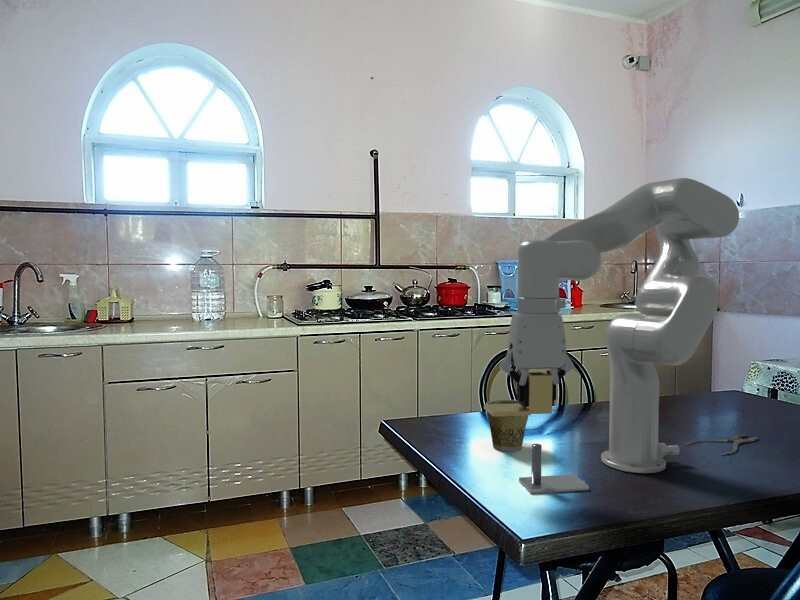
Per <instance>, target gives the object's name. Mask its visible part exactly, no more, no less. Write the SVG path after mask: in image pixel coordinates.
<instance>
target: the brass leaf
mask: <svg viewBox="0 0 800 600" xmlns="http://www.w3.org/2000/svg"><path fill="white" fill-rule="evenodd" d="M552 383H553V376H552V375H550V374H548V373H546V371H528V375H527V379H526V385H527V386H528V406H527V407H523V406H522V405H520V404H519V403H513V404H486V403H484V404H483V410H485V411H486V413H487V412H488V413H490V414H491V415H492V416H493V417H498V416H527V415H528V416H531V415H545V414H546V415H548V414H553V406H552Z"/></svg>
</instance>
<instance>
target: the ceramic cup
mask: <svg viewBox="0 0 800 600" xmlns="http://www.w3.org/2000/svg"><path fill="white" fill-rule="evenodd" d="M513 403H519V402H518V401H517V399H516V400H515V399H493V400H490V401H488V402H486V403H485V404H513ZM486 416H487V420H488V423H489V431H490V435H491V442H492V446H493V447H492V448H493V449H494V448H495V450H498V451H501V452H505V451H506V452H508V453H514V452H518V451H521V450H522V449H523V443H524V437H525V433H526V426H527V425H528V419H529V415H527V416H498V417H493V416H492V415H491V414H490V413H488V412H487V411H486Z"/></svg>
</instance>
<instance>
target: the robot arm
mask: <svg viewBox="0 0 800 600" xmlns="http://www.w3.org/2000/svg"><path fill="white" fill-rule="evenodd" d="M739 221H740V212H739V209H738V207H737V204H736V203H735V201H734V200H733V199H732V198H731V197H730V196H728V195H726V194H725V193H723V192H721V191H719V190H717V189H715V188H713V187H711V186H710V185H707V184H706V183H703V182H701V181H698V180H697V179H696V180H695V179H693V178H688V177H680V178H679V177H678V178H673V179H668V180H667V179H666V180H660V181H655V182H649V183H646V184H644V185H643V184H642V185H641V186H639V187H637V188H636V189H634V190H633V191H631V192H630V193H628V194H627V195H625V196H623V197H622V198H621V199H619V200H618V201H616V202H614V203H613V204H611V205H610V206H609V207H607V208H605V209H603V210H602V211H600V212H597V213H594V214H592V215H589V216H588V217H586V218H583V219H580V220H579V221H575V222H574V223H572V224H569V225H567V226H565V227H562V228H561V229H559V230H557V231H556V232H554V233H552V234H551V235H549V236H547V237H546V238H544V239H543V240H542V239H541V240H525V241H522V242H521V243H520V244H519V246H518V250H517V286H516V287H517V294H516V295H517V298H516V300H517V301H516V307H517V308H516V314H512V316H511V320H510V325H509V331H508V337H507V338H508V339H507V340H508V341H507V349H506V350H507V353H506V355H505V356H504V358H503V360H502V361H501V362H500V364H499V369H500V370H501V371H503V372H504V373H505V374H507V375H508V376H509V377H510V378H511V379H512V380H514V382H515V383H516V401H518V402H519V404H520V405H522V406H523V407H527V406H528V386H527V385H526V379H527V375H528V372H530V371H529V370H545V371H544V372H545V373H548V374H550V375H552V376H553V383H552V407H554V406H555V401H556V400H557V385H558V384H560V381H561V380H562V379H563V377H564V376H565V375H567V373H569V372H570V371H572V370H573V369H574V367H575V365H574V363H573V361H572V359H571V358H570V357H569V355H568V354H567V344H566V340H567V339H566V331H565V324H564V319H563V315H562V314H559V313H560V311H561V309H566V305H567V304H566V301H565V300H561V299H560V280H561V281H563V280H564V281H585V280H588V279H590V278H592V277H594V276H595V275H597V273H598V272H599V270H600V269H601V266H602V261H603V260H602V258H603V256H602V254H601V253H606V252H612V251H614V250H619V249H621V248H625V247H627V246H629V245H631V244H632V243H633V242H635V241H636V240H637V239H639V238H640V237H642V236H643V235H644V234H646V233H647V232H649V231H650V230H652V229H653V228H654V227H655V231H656V237H657V240H658V246H659V256H658V258H657V260H656V261H655V263H654V265H653V266H652V268H651V270H650V271H649V273H648V274H647V276H646V278H645V280H644V281H643V283H642V284H641V285H640V288H639V289H638V292H637V294H636V297H635V307H636V308H637V311H638V312H639V313H623V314H619V315H617V316H615V317H613V319H611V321H610V322H609V323H608V324H607V327H606V330H605V343H606V349H607V353H608V360H609V380H610V381H609V425H608V427H609V428H608V429H609V430H608V431H609V432H608V437H609V438H608V441H609V442H608V450H605V451H603V452H602V453H601V455H600V459H601V462H602V463H603V464H604V465H606V466H608V467H610V468H612V469H614V470H615V469H616V470H618V471H623V472H627V473H635V474H655V473H659V472H662V471H664V470H665V469H666V467H667V462H666V459H664V457H666V456H667V455H670V456H673V455H680V452H681V449H680V446H679V445H677V444H673V445H671V444H670V445H667V444H666V443H665V442H659V422H660V421H659V414H660V411H659V410H660V408H659V407H660V406H659V405H660V379H659V376H658V373H657V370H656V368H655V365H654V364H659V365H664V366H665V365H666V366H674V367H675V366H680V365H683V364H685V363H686V362H687V361H689V359H691V357H692V356H693V355H694V354H695V351H696V349H697V348H698V347H699V344H700V342H701V341H702V340H703V338H704V336H705V334H706V333H707V330H709V327H710V326H711V324H712V322H713V320H714V318H715V316H716V313H717V311H718V308H719V303H720V301H719V300H720V296H719V290H718V287H717V285H716V284H715V283H714V281H712V280H711V279H710V278H708V277H706V276H703V275H698V273H699V270H700V264H701V263H700V260H699V257H698V255H697V254H696V251H695V249H694V248H693V246H692V244H691V242H690V240H701V239H702V240H703V239H704V240H705V239H717V238H719V239H720V238H723V237H727V236H729V235H730V234H732V233H733V232H734V231H735V230H736V228H737V226H739ZM511 366H514V367H515V368H516V370H514V369H513V368H512V367H511Z"/></svg>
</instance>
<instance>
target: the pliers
mask: <svg viewBox="0 0 800 600" xmlns="http://www.w3.org/2000/svg"><path fill="white" fill-rule="evenodd" d="M745 436H747V437H748V434H746V433H745V434H741V435H735V436H731V437H727V438H724V439H701V440H698V439H697V440H691V441H689V442H686V443H685V446H686V445H688V446H690V444H691V445H693V443H695V444H699V443H698V442H728V443H732V448H733V450H731V451H729V452H723V453H720V456H721V455H726V456H728V455H727V454H731V455H733V454H732V453H734V452H736V451H737V450H739V446H740V445H739V444H741V443H745V442H752V441H755V440H757V439H758V440H759V437H758V436H754V437H750V438H749V437H748V438H747V437H745ZM743 437H745V438H747V439H745V438H743ZM740 438H743V439H740ZM758 440H757V441H758ZM731 441H732V442H731ZM733 442H734V443H733ZM755 442H756V441H755ZM752 443H753V442H752ZM745 444H746V443H745ZM738 445H739V446H738ZM741 445H742V444H741ZM737 452H738V451H737ZM737 452H736V453H737ZM734 454H735V453H734Z"/></svg>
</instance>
